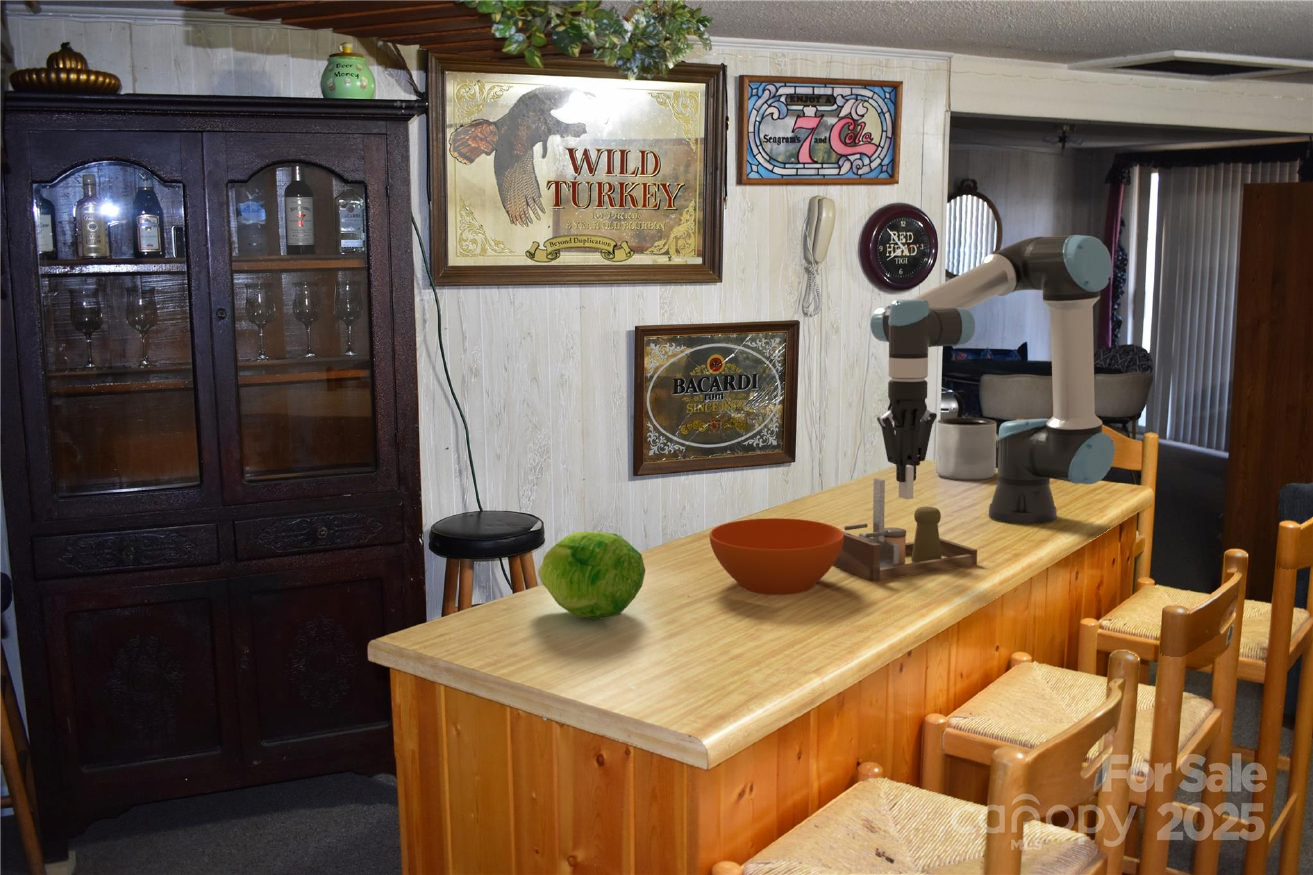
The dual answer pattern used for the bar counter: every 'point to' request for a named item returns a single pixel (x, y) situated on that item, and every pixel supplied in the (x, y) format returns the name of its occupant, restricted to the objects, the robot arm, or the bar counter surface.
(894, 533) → the terracotta spice jar
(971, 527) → the bar counter surface
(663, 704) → the bar counter surface
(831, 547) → the bowl
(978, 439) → the planter
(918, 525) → the pepper mill
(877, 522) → the pusher
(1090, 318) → the robot arm
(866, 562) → the lane
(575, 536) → the lettuce
